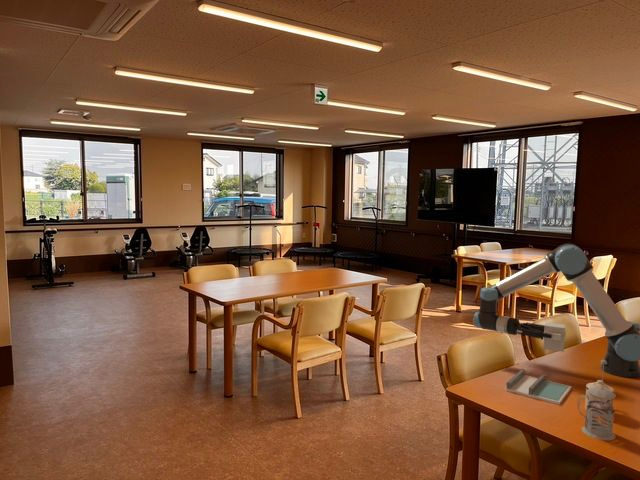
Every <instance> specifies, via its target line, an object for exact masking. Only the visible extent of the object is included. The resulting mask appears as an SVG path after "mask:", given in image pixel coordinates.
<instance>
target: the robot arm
mask: <svg viewBox="0 0 640 480" xmlns="http://www.w3.org/2000/svg"><path fill="white" fill-rule="evenodd" d="M593 271H594V266H593V265H592V263H591V261H590V260H589V259H588V257H587V255H586V254H585V252H584V251H583V250H582V248H580V247H579V246H577V245H576V244H574V243H563V244H561V245H559V246H558V247H556V248H554V249H553V250H551V251H550V252H549V253H547V254H545V256H544V258H542V259H539V260H537V261H536V262H534V263H532V264H530V265H528V266H527V267H525V268H523V269H521V270H519V271H517V272H515V273H513V274H511V275H509V276H508V277H506V278H504V279H502V280H499V281H498V282H496V283H495V284H493V285H491V286H487V287H486V286H485V287H481V289H480V294H479V297H480V298H479V311H475V313H474V315H473V318H472V321H473V322H472V323H473V326H474V327H476V328H479V329H483V330H487V331H493V332H498V333H500V334H503V333H504V334H508V335H513V336H516V335H522V336H527V337H531V338H536V339H540V340H542V341H544V338H547V339H552V340H557V341H561V334H556V333H551V332H546V331H545V332H544V328H545V324H544V325H543V324H538V323H537V324H536V323H532V322H522V323H520V319H519V318H515V317H509V316H505V315H500V314H499V315H498V314H497V305H498V302H499V301H500V300H502V299H505V297H507V296H509V295H511V294H513V293H516V292H517V291H519V290H522V289H523V288H525V287H527V286H529V285H531V284H533V283H535V282H538V281H539V280H540V279H542V278H545V277H547V276H549V275H550V274H552V273H556V274H558V273H559V272H561V273H562V274H563V276H564V278H565V279H566V280H567V281H568V282H572V283H573V284H574V285H575V287H576V289H577V290H578V291H579V293H580V294H581V296H582V297H583V298H584V300H585V302H586V303H587V305H588V306H589V307H590V309H591V310H592V312H593V313H594V315H595V316H596V317H597V319H598V320H599V321H600V323H601V325H602V326H603V328H604V329H605V332H604V336H605V337H606V339H607V347H606V353H605V356H604V358H603V359H602V360H606V361H607V364H604V371H603V364H601V363H600V365H601V366H600V367H601V370H602V371H603V372H606V373H608V374H610V375H614V376H618V377H623V378H638V377H640V363H639V361H640V324H639V323H637V322H634V321H630V320H627V319H625V317H624V315H622V313H621V311H620V310H619V308H618V307H617V305H616V304H615V303H614V301H613V300H612V298H611V297H610V295H609V294H608V293H607V291H606V290H605V288H604V287H603V285H602V284H601V283H600V281H599V280H598V278H597V277H596V275H595V274H594V273H593ZM566 331H567V330H566V329H565V336H566V334H567V332H566Z"/></svg>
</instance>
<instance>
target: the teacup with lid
mask: <svg viewBox="0 0 640 480" xmlns="http://www.w3.org/2000/svg"><path fill="white" fill-rule="evenodd" d="M594 387H601V388H605V389H608V390H610V391H612V392H613V393H614V394H615V390H614V388H613V387H612V386H610V385H608V384H606V383H604V381H603V384H602V379H597V381H595V382H589V383H586V385H585V390H586V391H585V397H586V396H587V395H588V397H589V400H588V399H587V397H586V398H584V400H585V401H584V410H585V411H586V412H587V406H588V405H589V404H588V402H589V401H592V400H595V401H600V400H601V401H603V402H605V403H608V404H611V405H612V406H613V407H614V405H613V403H614V399H602V398H598V397H595V396H592V395H590V394H589V393H588V389H590V388H594ZM591 409H595V408H593V407H592V408H590V409H589V410H591ZM596 410H598V409H596ZM598 411H600V412H601V413H603V414H605V415H609V414H607V413H605V412H603V411H601V410H598ZM593 412H595V413H598V412H596V411H593ZM599 414H600V413H599Z"/></svg>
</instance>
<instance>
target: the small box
mask: <svg viewBox="0 0 640 480" xmlns="http://www.w3.org/2000/svg"><path fill="white" fill-rule="evenodd" d="M544 325H545V328H544V332H545V331H546V332H551V333H556V334H561V341H557V340H552V339H547V338H544V337H543V344H542V345H543V349H544V350H546V351H547V350H549V351H556V352H561V353H562V352H563V353H564V352H565V338H566V335H565V330H566V325H565V324H562V323H561V324H559V323H552V322H544Z"/></svg>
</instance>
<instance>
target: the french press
mask: <svg viewBox="0 0 640 480" xmlns="http://www.w3.org/2000/svg"><path fill="white" fill-rule="evenodd" d="M601 364H603V370H602V372H605V371H604V364H607V361H606V360H603V359H601V361H600V365H601ZM601 375H602V379H601V380H602V384H603V382H604V374H601ZM588 393H589V394H590V395H592V396H595V397H598V398H602V399H613V400H614V399H615V398H616V396H617V395H616V394H615V392H614V393H613V392H612V391H610V390H608V389H605V388H601V387H594V388H590V389H588ZM586 397H587V399H588V400H589V397H588V395H587V396H586V394H583V395H581V396H580V397H579V398H578V399H577V404H576V405H577V406H576V407H577V410H578V411H579V414H580V415H581V416H583V417H584V419H585V420H584V426H582V427H581V431H582V432H583V433H584V434H585V435H587V436H588V437H590V438H593V439H597V440H601V441H613V440H615V439H616V434H615V433H614V432H613V428H614V415H615V413H614V410H613V409H614V405H613V406H612V405H611V404H608V403H605V402H603V401H601V400H600V401H595V400H592V401H589V402H588V404H589V405H588V406H587V411H586V414H584V413H583V412H582V411H581V410H580V404H581V401H582V400H585V399H586ZM592 407H593V408H595V409H591V410H589V409H590V408H592ZM596 409H598V410H601V411H603V412H605V413H607V414H609V415H605V414H603V413H601V412H600V411H598V410H596ZM593 411H596V412H598V413H595V412H593ZM599 413H600V414H599Z"/></svg>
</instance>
